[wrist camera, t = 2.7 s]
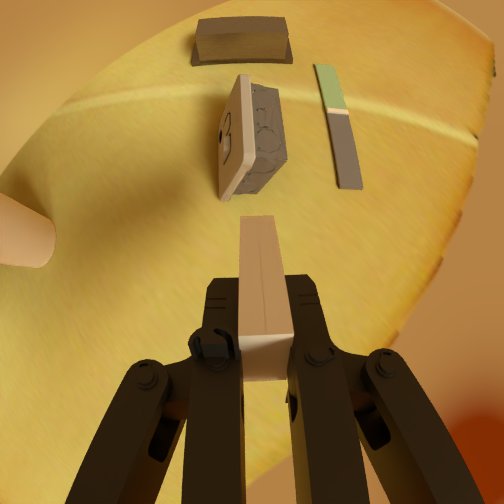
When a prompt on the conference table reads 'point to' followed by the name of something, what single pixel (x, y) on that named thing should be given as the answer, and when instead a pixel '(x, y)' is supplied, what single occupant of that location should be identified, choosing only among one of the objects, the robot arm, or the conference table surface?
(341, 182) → the green and grey strip
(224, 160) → the electrical switch
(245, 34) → the block
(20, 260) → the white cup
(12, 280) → the conference table surface
